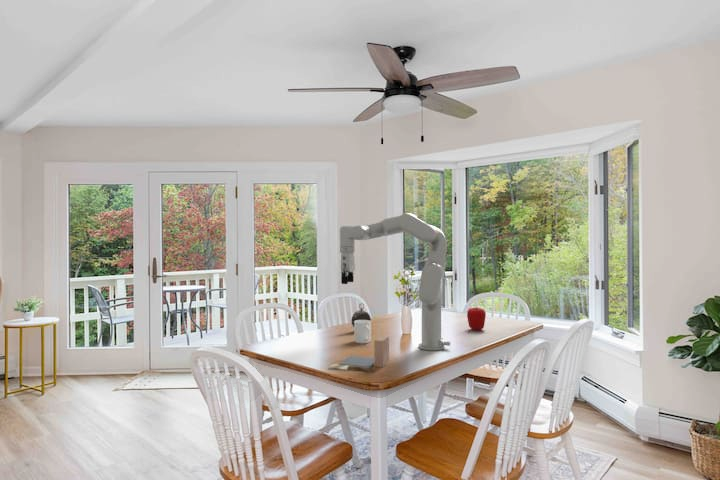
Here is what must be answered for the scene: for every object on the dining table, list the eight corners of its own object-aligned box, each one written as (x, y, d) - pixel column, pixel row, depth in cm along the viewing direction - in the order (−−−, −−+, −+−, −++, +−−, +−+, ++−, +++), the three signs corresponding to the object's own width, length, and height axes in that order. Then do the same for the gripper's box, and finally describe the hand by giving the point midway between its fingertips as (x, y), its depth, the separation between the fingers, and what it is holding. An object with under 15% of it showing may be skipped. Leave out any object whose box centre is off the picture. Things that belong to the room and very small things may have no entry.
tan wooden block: (389, 361, 200) (388, 336, 200) (383, 367, 191) (383, 341, 191) (380, 360, 201) (380, 336, 201) (374, 366, 193) (373, 340, 193)
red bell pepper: (463, 329, 268) (463, 306, 268) (477, 327, 273) (477, 304, 273) (475, 332, 259) (475, 308, 259) (489, 330, 263) (489, 307, 263)
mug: (361, 345, 229) (361, 324, 228) (351, 341, 239) (351, 320, 239) (376, 344, 232) (376, 323, 232) (366, 339, 243) (366, 319, 243)
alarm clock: (367, 329, 268) (367, 302, 268) (372, 331, 263) (372, 303, 263) (351, 331, 262) (350, 303, 262) (355, 333, 258) (355, 304, 257)
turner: (373, 369, 188) (373, 366, 188) (369, 372, 184) (369, 369, 184) (333, 365, 194) (333, 362, 194) (328, 368, 190) (328, 365, 190)
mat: (379, 359, 204) (379, 358, 204) (370, 367, 191) (370, 366, 191) (350, 356, 208) (350, 355, 208) (338, 364, 195) (338, 363, 195)
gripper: (349, 250, 227) (349, 284, 228) (359, 249, 244) (359, 281, 244) (334, 250, 230) (335, 284, 230) (345, 249, 246) (345, 281, 246)
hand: (347, 282), depth 237 cm, fingers open, 9 cm apart
